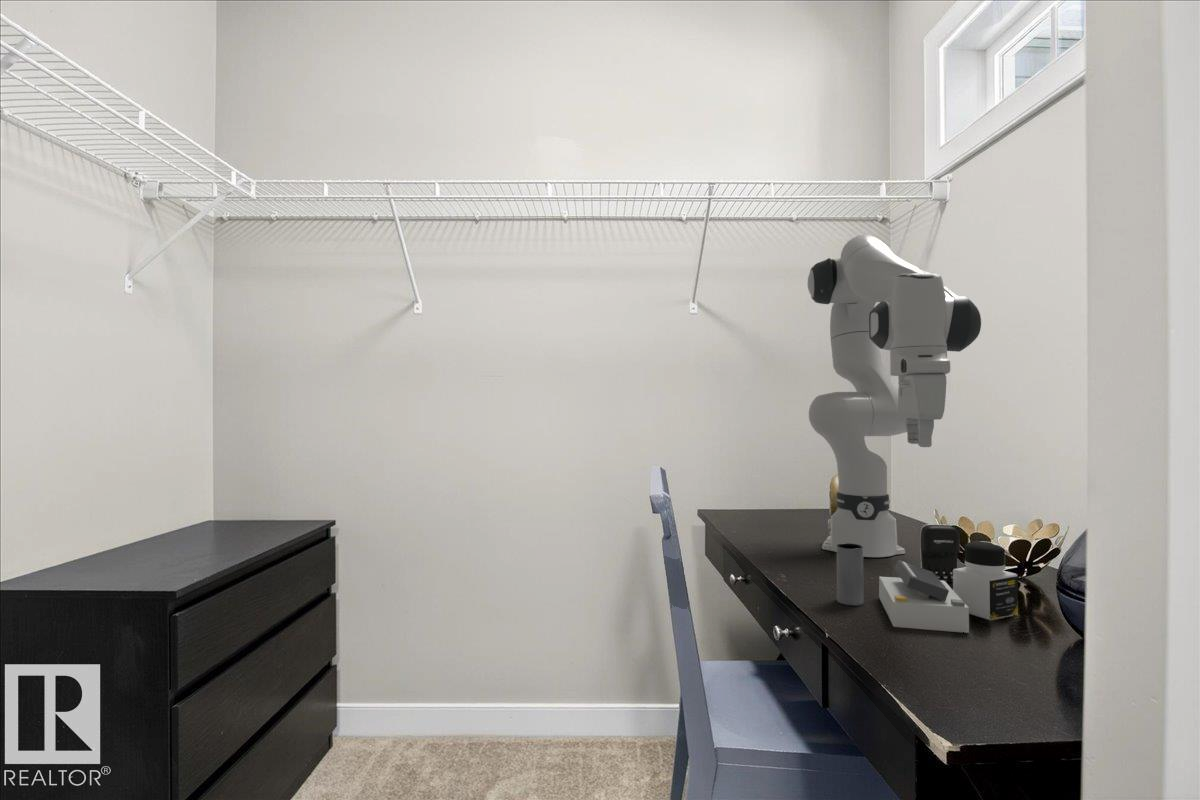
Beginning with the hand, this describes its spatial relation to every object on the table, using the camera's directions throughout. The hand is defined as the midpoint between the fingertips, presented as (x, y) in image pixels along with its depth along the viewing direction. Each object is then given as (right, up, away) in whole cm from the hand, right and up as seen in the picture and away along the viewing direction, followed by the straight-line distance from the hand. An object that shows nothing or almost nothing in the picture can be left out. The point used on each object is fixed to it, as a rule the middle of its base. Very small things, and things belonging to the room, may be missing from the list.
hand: (919, 445), depth 112 cm
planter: (-9, -29, +7) cm, 32 cm away
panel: (0, -29, 0) cm, 29 cm away
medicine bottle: (+12, -29, +1) cm, 32 cm away
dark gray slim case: (0, -23, 0) cm, 23 cm away
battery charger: (+14, -29, +20) cm, 38 cm away
